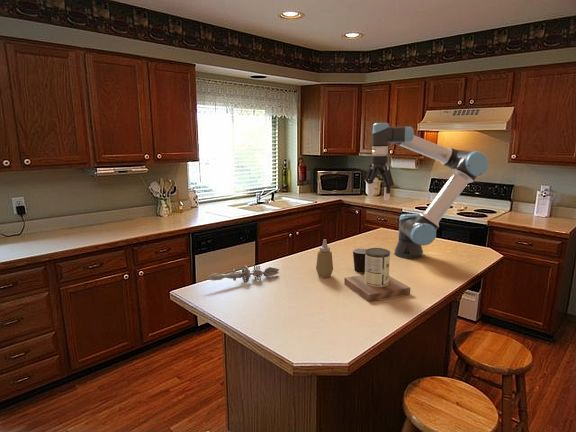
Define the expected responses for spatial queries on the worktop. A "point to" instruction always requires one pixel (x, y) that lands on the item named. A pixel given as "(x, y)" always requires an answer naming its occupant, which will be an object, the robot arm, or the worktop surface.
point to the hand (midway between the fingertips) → (378, 198)
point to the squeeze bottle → (324, 261)
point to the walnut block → (376, 288)
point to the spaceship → (245, 274)
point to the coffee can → (377, 267)
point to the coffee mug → (359, 260)
